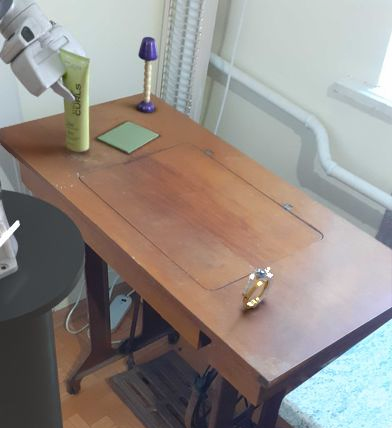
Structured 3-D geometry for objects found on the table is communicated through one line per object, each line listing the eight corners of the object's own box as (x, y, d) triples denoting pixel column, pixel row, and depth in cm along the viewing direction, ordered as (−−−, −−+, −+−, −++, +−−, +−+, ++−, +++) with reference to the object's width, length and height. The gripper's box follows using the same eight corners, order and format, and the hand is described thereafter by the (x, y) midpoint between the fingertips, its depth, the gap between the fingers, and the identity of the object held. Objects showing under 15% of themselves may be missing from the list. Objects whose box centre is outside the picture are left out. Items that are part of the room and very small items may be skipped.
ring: (259, 293, 96) (270, 258, 90) (272, 303, 95) (284, 268, 89) (232, 308, 93) (240, 272, 87) (244, 319, 91) (254, 284, 86)
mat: (128, 153, 123) (128, 152, 122) (97, 139, 125) (97, 137, 125) (158, 135, 130) (158, 134, 130) (128, 122, 133) (128, 121, 132)
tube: (63, 152, 117) (59, 56, 103) (63, 140, 121) (59, 46, 107) (90, 153, 119) (89, 58, 105) (88, 142, 122) (88, 49, 108)
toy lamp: (152, 114, 137) (157, 43, 125) (134, 111, 137) (137, 40, 124) (155, 106, 140) (160, 36, 128) (137, 103, 140) (141, 33, 128)
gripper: (43, 27, 114) (88, 86, 120) (-6, 60, 100) (47, 124, 107) (62, 8, 110) (107, 69, 117) (14, 39, 96) (68, 107, 103)
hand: (78, 96), depth 111 cm, fingers closed on tube, 4 cm apart
